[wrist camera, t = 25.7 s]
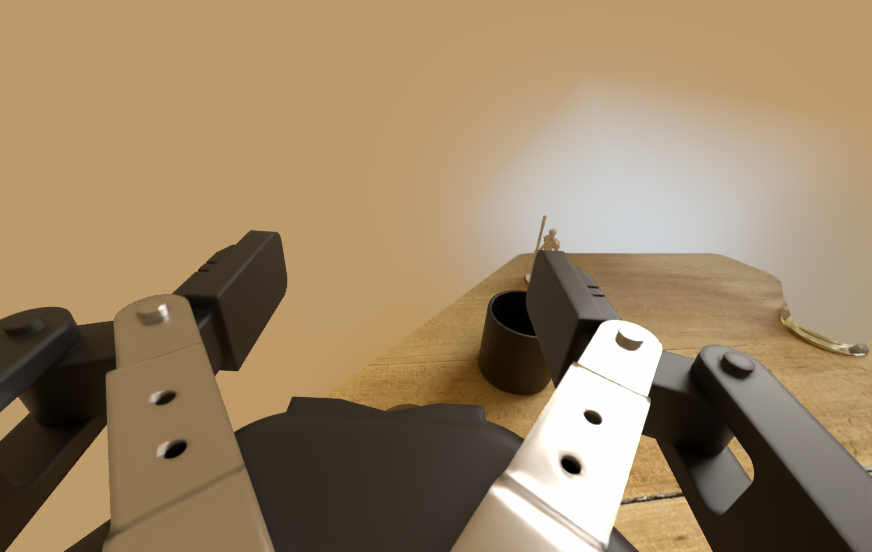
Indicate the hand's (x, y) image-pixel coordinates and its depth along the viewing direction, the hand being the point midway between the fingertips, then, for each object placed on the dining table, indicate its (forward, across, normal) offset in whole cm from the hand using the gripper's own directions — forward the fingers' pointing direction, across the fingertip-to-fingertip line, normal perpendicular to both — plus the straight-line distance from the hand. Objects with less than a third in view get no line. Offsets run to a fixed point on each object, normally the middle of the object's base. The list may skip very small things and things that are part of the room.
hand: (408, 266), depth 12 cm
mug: (+26, -13, +29) cm, 41 cm away
